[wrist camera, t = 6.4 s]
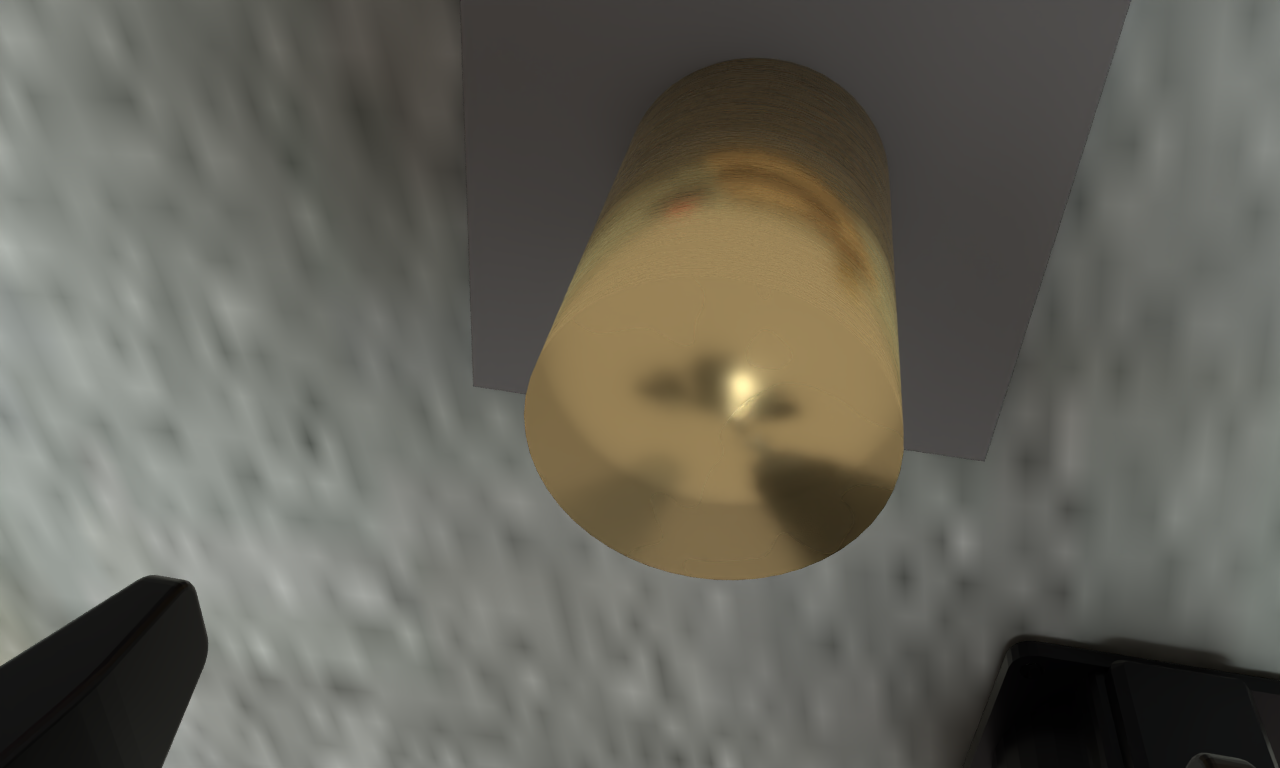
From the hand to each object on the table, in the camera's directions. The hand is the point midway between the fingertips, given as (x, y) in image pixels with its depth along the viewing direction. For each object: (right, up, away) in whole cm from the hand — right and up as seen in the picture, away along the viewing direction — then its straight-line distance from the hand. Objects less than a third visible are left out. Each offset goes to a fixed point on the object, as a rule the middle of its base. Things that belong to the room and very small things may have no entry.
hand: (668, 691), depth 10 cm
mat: (+2, +6, +9) cm, 11 cm away
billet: (+2, +6, +8) cm, 11 cm away
